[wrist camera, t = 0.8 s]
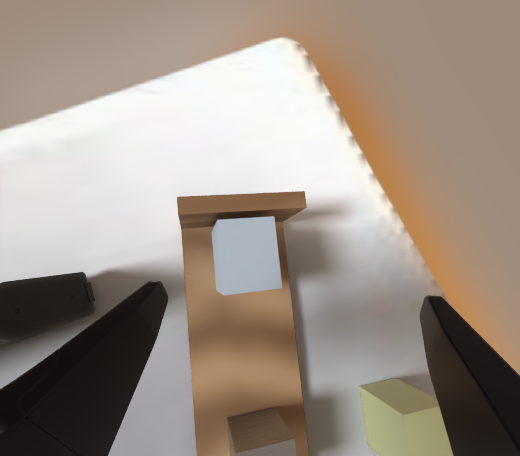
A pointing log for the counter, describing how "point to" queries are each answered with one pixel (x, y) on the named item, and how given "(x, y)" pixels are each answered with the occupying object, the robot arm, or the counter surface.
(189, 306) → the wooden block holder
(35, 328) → the magazine
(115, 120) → the counter surface
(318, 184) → the counter surface
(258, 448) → the grey cube-like block
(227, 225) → the pale blue block
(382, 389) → the pale yellow block
